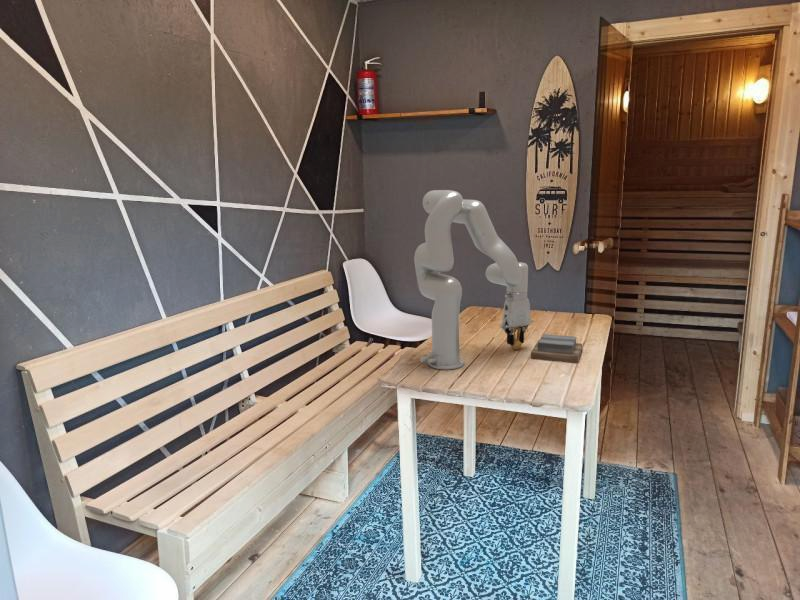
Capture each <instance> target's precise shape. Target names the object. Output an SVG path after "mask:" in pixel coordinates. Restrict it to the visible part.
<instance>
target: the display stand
mask: <svg viewBox="0 0 800 600" xmlns="http://www.w3.org/2000/svg"><path fill="white" fill-rule="evenodd" d="M582 351H583V343H578V342H577V336H572V335H571V336H569V335H559V334H558V335H557V334H547V333H546V334H545V333H542V336H541V337H540V339H538V340H537V341H536V343H535V345H534V347H533V349H531V351H530V359H531V360H542V361H552V362H560V361H561V362H563V363H572V364H578V363H579V360H580V357H581V353H582Z"/></svg>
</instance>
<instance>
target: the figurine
mask: <svg viewBox="0 0 800 600" xmlns="http://www.w3.org/2000/svg"><path fill="white" fill-rule="evenodd" d="M528 327H529V326H528ZM528 327H527V325H526V328H527V329H526V332H529V328H528ZM520 330H521V328H519V327H515V328H514V330H513V335H514V345H510V347H511V349H512V350H514V351H518V350H520V349H521V348H522V343H521V342H520V341H519V336H520ZM517 331H518V339H517Z"/></svg>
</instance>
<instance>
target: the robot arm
mask: <svg viewBox="0 0 800 600" xmlns="http://www.w3.org/2000/svg"><path fill="white" fill-rule="evenodd" d="M422 207H423V209H424V211H425V212H426V213H427V214H428V217H427V219H426V221H425V224H424V236H425V237H424V239H425V242H423V243H421V244H420V245H418V247H416V249H415V251H414V256H413V259H414V260H413V261H414V269H415V276H416V281H417V287H418V290H419V292H420V294H421V295H422V296H423V297H424V298H427V299H430V300H432V301H434V304H433V307H432V310H431V351H429V354H427V356H422V357H419V360H420V363H423V364H424V363H427V365H428V366H429V367H430V368H433V369H435V370H446V371H447V370H448V371H449V370H455V369H459V368H461V367H463V366H464V365H465V361H464V359H463V358H461V357H460V307H461V301H462V295H463V287H462V285H461V283H460V281H459V280H458V279H457V278H455V277H454V276H451V275H448V274H445V273H447V272H450V270H452V269H453V267H454V264H455V263H454V262H455V261H454V260H455V259H454V258H455V257H454V250H453V244H452V243H453V242H452V236H451V235H452V234H451V227H452V224H453V223H456V224H464V225H465V227H466V228H467V231H468V233H469V236H470V237H471V240H472V242H473V244H474V247H476V248H477V249H478V250H479V251H480V252H481V253H483V254H484V255H486V256H488V257H489V258H490V259H491V260H493V261H494V263H492V264H489V265H488V266H487V267H486V270H485V278H486V279H487V281H489V282H490V283H492V284H496V285H499V286H500V285H501V286H505V287H506V294H504V298H505V301H504V305H503V310H502V323H501V324H500V327H499V328H500V329H501V330H503V331H504V333H505V335H506V343H507V345H510V346H511V345H514V333H513V331H514V328H516V327H519V328H521V330H520V336H519V341H520V342H521V344H524V343H525V341H524V340H525V333H526V332H527V328H526V325H527V327H529V326H530V325H531V324H532V321H531V304H530V300H529V298H528V288H529V287H528V284H529V283H528V282H529V281H528V279H529V277H528V276H529V266H528V264H527V263H525V262H521V261H519V260H518V258H517V257H516V255H515V253H514V252H513V251H512V250H511V248H510V247H509V246H508V245H507V244H506V243H505V242H504V241H503V240H502V239H501V238H500V237H499V235H498V234H497V232H496V229H495V227H494V224H493V222H492V221H491V217H490V216H489V212H488V210H487V209H486V206H485V204H483V202H481V201H480V200H477V199H463V196H462V194H461V193H460V192H458V191H457V190H456V191H455V190H451V189H439V190H438V189H434V190H429V191H428V192H427V193H426V194H424V196H423V199H422ZM518 261H519V262H518ZM517 339H518V330H516V340H517Z"/></svg>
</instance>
